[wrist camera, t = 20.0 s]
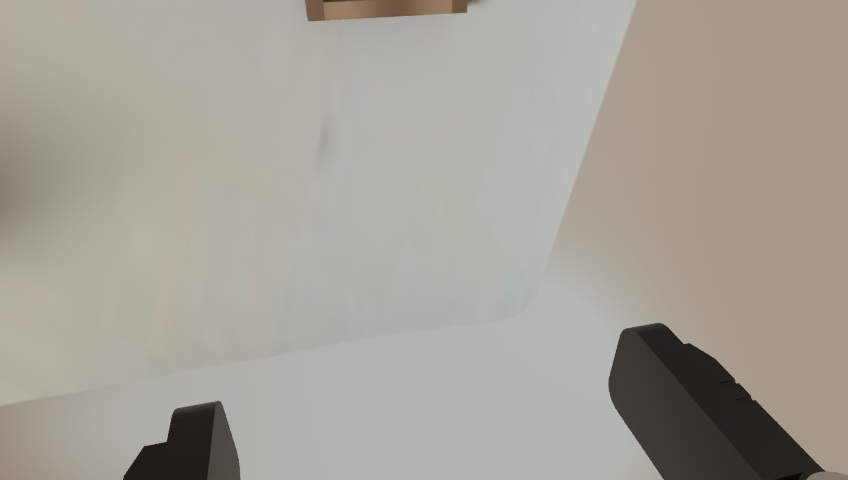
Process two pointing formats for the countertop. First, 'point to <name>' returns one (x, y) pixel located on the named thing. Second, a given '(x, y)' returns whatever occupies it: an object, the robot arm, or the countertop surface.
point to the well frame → (379, 8)
